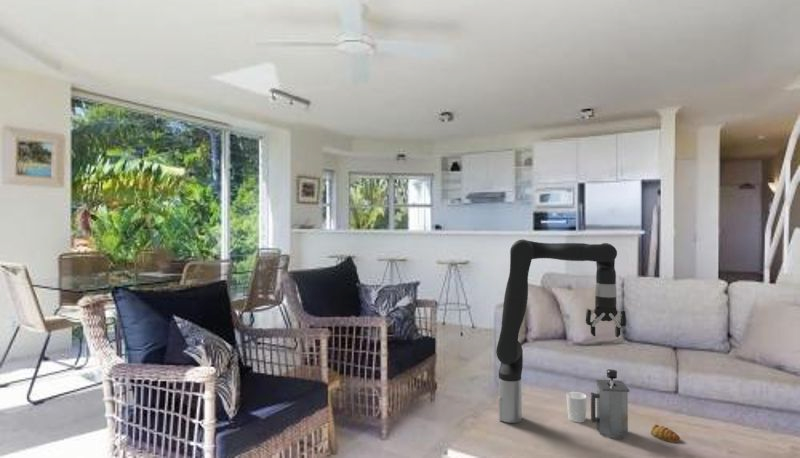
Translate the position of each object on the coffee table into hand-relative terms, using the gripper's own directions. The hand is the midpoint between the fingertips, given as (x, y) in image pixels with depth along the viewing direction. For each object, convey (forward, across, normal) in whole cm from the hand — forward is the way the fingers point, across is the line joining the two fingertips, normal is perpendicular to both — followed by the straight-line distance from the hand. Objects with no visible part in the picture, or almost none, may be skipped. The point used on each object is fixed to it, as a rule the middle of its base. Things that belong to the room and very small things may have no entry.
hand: (605, 336), depth 182 cm
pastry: (+37, +21, -3) cm, 43 cm away
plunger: (+28, +2, -2) cm, 28 cm away
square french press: (+37, +1, -2) cm, 37 cm away
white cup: (+38, -9, +9) cm, 40 cm away
